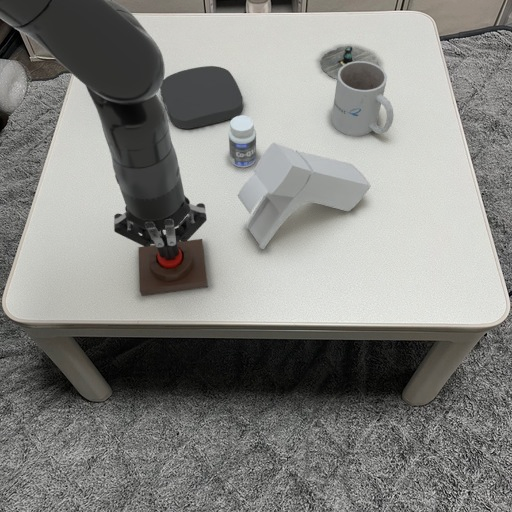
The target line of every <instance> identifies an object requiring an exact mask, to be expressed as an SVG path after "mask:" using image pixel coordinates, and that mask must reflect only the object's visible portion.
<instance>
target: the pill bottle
mask: <svg viewBox="0 0 512 512" xmlns="http://www.w3.org/2000/svg"><path fill="white" fill-rule="evenodd" d="M229 127H230V128H229V131H228V147H229V148H228V149H229V159H230V162H231V164H232V165H234V166H235V167H237V168H248V167H250V166H253V165H254V164H255V162H256V161H257V131H256V129H255V122H254V120H253V118H251V117H250V116H248V115H238V116H236V117H234V118H231V119H230V122H229Z"/></svg>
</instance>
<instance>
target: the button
mask: <svg viewBox="0 0 512 512" xmlns="http://www.w3.org/2000/svg"><path fill="white" fill-rule="evenodd" d="M157 257H158V261H159V264H160V267H162V268H165V269H171V268H176V267H177V266H179V265H180V264H181V263H182V261H183V257H182V253H181V250H180V249H179V255H178V256H175V259H173V260H171V259H170V260H165V257H163V258H162V257H161V256H160V255H159V252H158V256H157Z"/></svg>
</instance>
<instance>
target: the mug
mask: <svg viewBox="0 0 512 512" xmlns="http://www.w3.org/2000/svg"><path fill="white" fill-rule="evenodd" d="M379 66H380V65H379ZM379 66H378V65H376V64H373V63H371V62H366V61H354V62H350V63H347V64H345V65H343V66H342V67H341V68H340V69H339V71H338V76H337V79H336V83H335V90H334V91H335V92H334V99H333V105H332V113H331V123H332V126H333V127H334V128H335V129H336V130H337V131H338V132H340V133H341V134H344V135H347V136H352V137H360V136H361V137H362V136H365V135H368V134H370V133H372V132H374V133H376V134H379V135H381V134H384V133H386V132H388V131H389V130H390V128H391V127H392V124H393V123H394V122H393V121H394V107H393V105H392V103H391V101H390V100H389V99H388V98H387V97H386V96H384V93H385V90H386V85H387V81H388V76H387V73H386V70H384V69H383V68H382V67H381V66H380V67H379ZM382 106H383V107H384V109H385V112H386V120H385V121H386V122H385V125H384V127H381V126H379V125H378V124H377V123H378V119H379V115H380V110H381V107H382Z"/></svg>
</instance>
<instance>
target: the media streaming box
mask: <svg viewBox="0 0 512 512" xmlns="http://www.w3.org/2000/svg"><path fill="white" fill-rule="evenodd" d="M159 91H160V95H161V98H162V102H163V104H164V109H165V111H166V114H167V115H168V117H169V119H170V121H171V123H172V125H174V126H176V127H177V128H180V129H195V128H199V127H204V126H207V125H213V124H216V123H221V122H224V121H228V120H232V119H233V118H234V117H236V116H240V114H241V113H242V112H243V108H244V101H243V94H242V92H241V89H240V87H239V84H238V83H237V81H236V79H235V78H234V76H233V74H232V73H231V72H230V71H229V70H228V69H227V68H224V67H221V66H215V65H205V66H198V67H192V68H187V69H184V70H180V71H178V72H174V73H172V74H170V75H168V76H166V77H164V80H163V83H162V85H161V87H160V89H159Z"/></svg>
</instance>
